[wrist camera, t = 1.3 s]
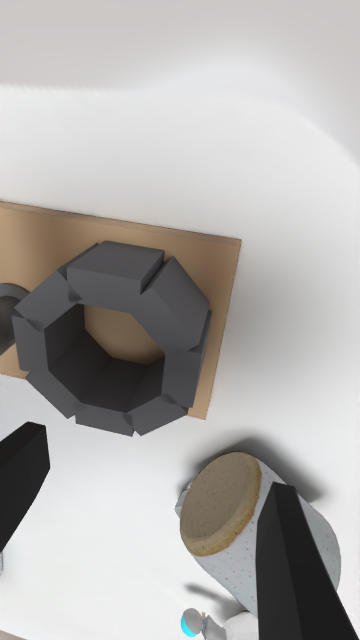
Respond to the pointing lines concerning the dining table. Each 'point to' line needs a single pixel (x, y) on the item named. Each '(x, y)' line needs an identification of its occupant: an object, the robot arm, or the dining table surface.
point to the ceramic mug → (239, 523)
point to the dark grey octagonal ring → (92, 360)
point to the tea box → (0, 563)
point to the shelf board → (104, 324)
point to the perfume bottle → (234, 636)
